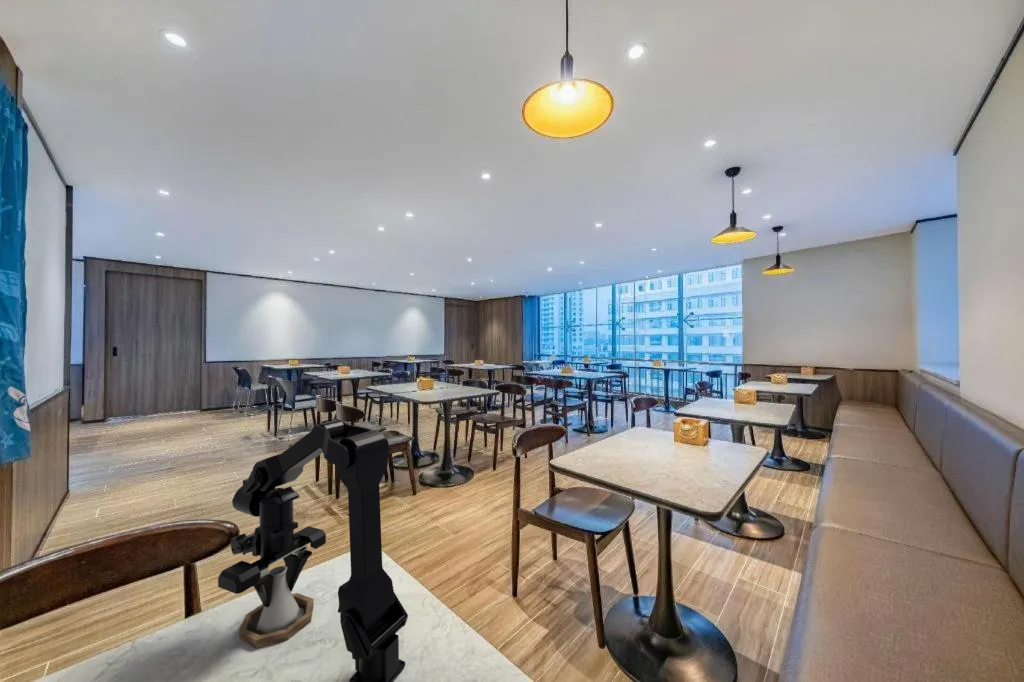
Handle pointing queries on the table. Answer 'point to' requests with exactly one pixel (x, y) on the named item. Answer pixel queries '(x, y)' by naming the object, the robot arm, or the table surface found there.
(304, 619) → the brown octagonal tray
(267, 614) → the flask
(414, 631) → the table surface
